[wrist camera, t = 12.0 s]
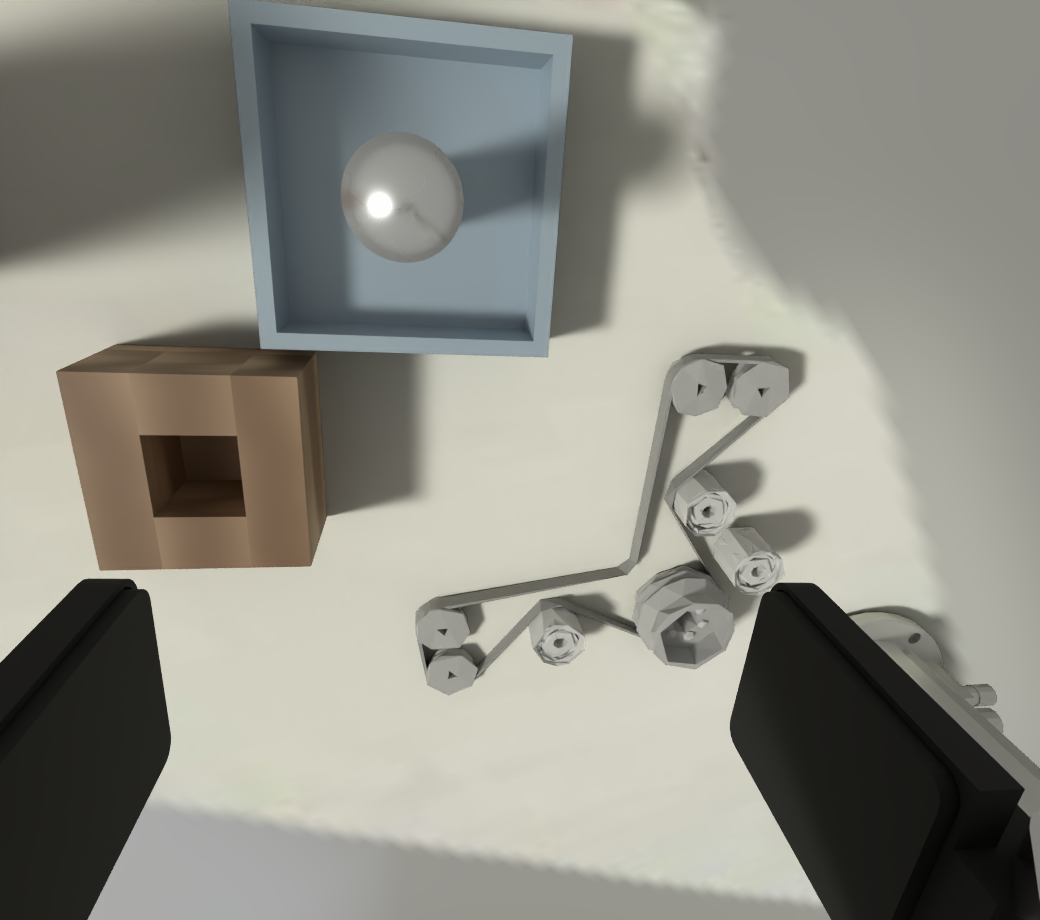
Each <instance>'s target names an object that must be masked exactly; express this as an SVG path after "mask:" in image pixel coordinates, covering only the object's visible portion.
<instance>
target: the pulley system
mask: <svg viewBox="0 0 1040 920" xmlns="http://www.w3.org/2000/svg"><path fill="white" fill-rule="evenodd" d="M716 362H723V363H739V364H738V366H737V367H736V368H735V369H734V371H733V372H732V374H731V377H730V379H729V382H728V385H727V384H726V377H725V371H724V365H721V364H718V363H716ZM724 393H725V394H726V395H727V397H728V399H729V401H730V402H731V404H732V406H733V407H734V408H738V409H740V411H741V413H742V415H748V416H749V417H748V418H747V419H746V420H745V421H743V422H742V423H741V424H740V425H738V426H737V427H736V428H735V429H734V430H732V431H731V432H730V433H729V434H727V435H726V436H725V437H724V438H723V439H721V440H720V441H719V442H718V443H717V444H715V445H714V446H713V447H712V448H710V449H709V450H708V451H707V452H706V453H704V454H703V455H702V456H701V457H699V458H698V459H697V460H696V461H695V462H693V463H692V464H691V465H690V466H689V467H687V468H686V469H685V470H684V471H682V472H681V473H680V474H679V475H678V476H676V477H675V478H674V479H673V480H672V481H671V483H670V486H669V488H668V490H667V493H666V495H665V498H664V499H665V501H666V503H667V504H668V506H669V508H670V510H671V511H672V513H673V515H674V517H675V518H676V520H677V522H678V524H679V525H680V527H681V529H682V530H683V532H684V534H685V536H686V537H687V539H688V541H689V543H690V544H691V546H692V548H693V550H694V551H695V553H696V555H697V556H698V558H699V560H700V561H701V563H702V565H703V567H704V568H705V570H706V572H707V573H708V575H707V574H705V573H703V572H700V571H697V570H695V569H692V568H690V567H687V566H685V565H684V566H681V567H677V568H674V569H671V570H668V571H664V572H661V573H658V574H656V575H655V576H654V577H653V578H652V579H651V580H649V581H648V582H647V583H646V584H645V585H644V586H642V587H641V588H640V589H639V590H638V591H637V592H636V599H635V609H634V613H633V616H632V619H633V621H634V623H635V625H636V627H637V629H634V628H632V627H630V626H627V625H625V624H622V623H620V622H617V621H615V620H613V619H610V618H608V617H605V616H603V615H601V614H598V613H596V612H593V611H591V610H589V609H586V608H584V607H581V606H579V605H577V604H574V603H572V602H569V601H567V600H565V599H562V598H560V597H558V598H550V599H542V600H539V601H538V603H537V604H536V605H535V606H534V607H533V608H532V609H531V610H530V611H529V612H528V613H527V614H526V615H525V616H524V617H523V618H522V619H521V620H520V621H519V622H518V623H517V624H516V626H515V627H514V628H513V629H512V630H511V631H510V632H509V633H508V634H507V635H506V636H505V637H504V638H503V639H502V640H501V641H500V642H499V643H498V644H497V645H496V646H495V647H494V648H493V650H492V651H491V652H490V653H489V654H488V655H487V656H486V657H485V658H484V659H483V660H482V661H481V662H480V663H479V664H478V665H477V666H475V665H474V662H473V658H472V657H471V656H470V655H469V654H468V652H467V651H466V650H465V649H458V648H460V647H461V645H462V644H463V642H464V641H465V639H466V638H467V636H468V635H469V633H470V630H469V628H468V625H467V620H468V619H467V616H466V615H465V614H464V612H463V611H462V606H468V605H473V604H478V603H483V602H488V601H494V600H499V599H504V598H509V597H514V596H519V595H525V594H530V593H535V592H540V591H545V590H551V589H556V588H561V587H566V586H571V585H577V584H582V583H587V582H592V581H597V580H602V579H608V578H613V577H618V576H623V575H627V574H628V573H629V572H630V571H631V570H632V569H633V567H634V566H635V565H636V564H637V561H638V556H639V552H640V547H641V542H642V538H643V533H644V528H645V523H646V519H647V514H648V509H649V505H650V500H651V495H652V490H653V486H654V481H655V476H656V471H657V467H658V462H659V457H660V453H661V448H662V443H663V438H664V434H665V429H666V424H667V420H668V415H669V410H670V405H671V404H672V405H673V406H674V407H675V408H676V410H677V412H678V413H682V414H688V415H693V416H698V415H700V414H703V413H706V412H708V411H711V410H714V409H716V408H718V406H719V404H720V402H721V400H722V398H723V396H724ZM788 398H789V369H788V368H786V367H785V366H783V365H781V364H779V363H777V362H775V361H774V360H773V358H772V357H771V356H747V355H719V354H703V353H700V354H691V355H687V356H685V357H683V358H681V359H679V360H677V361H675V362H673V363H672V365H671V367H670V369H669V371H668V373H667V375H666V378H665V381H664V386H663V392H662V397H661V402H660V407H659V412H658V417H657V422H656V427H655V432H654V437H653V442H652V447H651V452H650V457H649V462H648V467H647V472H646V478H645V483H644V488H643V493H642V498H641V503H640V508H639V513H638V518H637V523H636V528H635V533H634V538H633V543H632V548H631V553H630V559H628V560H627V561H625V562H624V563H622V564H621V565H619V566H618V567H614V568H608V569H603V570H597V571H591V572H585V573H580V574H574V575H568V576H563V577H557V578H551V579H545V580H540V581H534V582H528V583H522V584H517V585H511V586H505V587H500V588H494V589H488V590H482V591H477V592H471V593H465V594H460V595H454V596H448V597H436V598H434V599H432V600H431V601H429V602H427V603H426V604H425V605H423V606H422V607H420V608H419V610H417V611H416V636H417V641H418V645H419V649H420V654H421V658H422V662H423V667H424V671H425V675H426V680H427V685H428V686H430V687H432V688H434V689H436V690H438V691H440V692H443V693H445V694H447V695H451V694H453V693H455V692H458V691H460V690H462V689H465V688H467V687H470V686H472V685H473V682H474V680H475V679H476V678H477V677H478V676H479V675H480V674H481V673H482V672H483V671H484V670H485V669H486V668H487V667H488V666H489V665H490V663H491V662H492V661H493V660H494V659H495V658H496V657H497V656H498V655H499V654H500V653H501V652H502V651H503V650H504V649H505V648H506V647H507V646H508V645H509V644H510V643H511V642H512V641H513V640H514V639H515V638H516V637H517V636H518V634H519V633H520V632H521V631H522V630H523V629H524V628H525V627H526V626H527V625H528V626H529V631H530V636H531V641H532V647H533V649H534V650H535V652H536V653H537V654H538V656H539V657H540V659H541V660H542V661H543V662H544V663H548V664H551V665H555V666H560V665H565V664H569V663H570V662H571V661H572V660H573V659H575V658H576V657H577V656H578V655H579V654H580V653H582V652H583V651H584V650H585V636H584V634H583V631H582V628H581V626H580V623H579V620H578V618H577V615H576V613H578V614H580V615H583V616H585V617H588V618H591V619H593V620H596V621H599V622H601V623H604V624H607V625H609V626H612V627H615V628H617V629H620V630H623V631H625V632H628V633H630V634H633V635H636V636H638V637H641V638H642V640H643V642H644V643H645V645H646V647H647V648H648V649H649V650H653V651H654V654H655V655H656V656H657V657H658V658H659V659H660V660H661V661H662V662H663V663H664V664H665V665H671V666H677V667H683V668H690V669H696V668H698V667H700V666H701V665H703V664H704V663H706V662H708V661H709V660H711V659H712V658H714V657H716V656H717V655H719V654H720V653H722V652H723V651H725V650H726V648H727V646H728V643H729V641H730V639H731V637H732V635H733V632H734V619H733V613H731V612H729V611H728V610H727V608H728V600H729V596H728V595H727V594H726V593H724V592H723V591H721V589H720V588H719V587H718V585H717V584H716V583H715V582H714V580H713V579H712V577H711V575H710V573H709V572H708V570H707V568H706V567H705V565H704V563H703V561H702V560H701V558H700V556H699V554H698V552H697V551H696V549H695V547H694V545H693V544H692V542H691V540H690V538H689V537H688V535H687V533H686V531H685V530H684V528H683V526H682V524H681V523H680V521H679V519H678V517H677V516H676V514H675V512H676V513H677V515H678V516H679V518H680V519H681V521H682V522H683V523H684V525H685V526H686V527H687V528H688V529H689V530H690V531H691V532H692V533H693V534H694V535H695V536H696V537H698V536H715V535H717V534H718V533H719V532H721V531H722V530H723V529H725V528H726V527H727V526H729V525H730V524H731V523H733V518H734V514H735V509H736V505H737V504H736V502H735V501H734V499H733V497H732V496H731V495H730V494H729V493H728V492H727V491H726V490H725V489H723V488H722V487H721V486H720V485H719V483H718V482H717V480H716V479H715V478H714V477H713V476H712V475H711V474H710V473H709V472H707V471H706V470H704V469H703V468H704V467H705V466H706V465H707V464H709V463H710V462H711V461H712V460H713V459H715V458H716V457H717V456H718V455H719V454H720V453H722V452H723V451H724V450H725V449H726V448H728V447H729V446H730V445H731V444H732V443H734V442H735V441H736V440H737V439H738V438H739V437H741V436H742V435H743V434H744V433H745V432H747V431H748V430H749V429H750V428H751V427H753V426H754V425H755V424H756V423H757V422H758V421H760V420H761V419H762V418H763V417H767V416H768V415H769V414H770V413H772V412H773V411H774V410H775V409H776V408H777V407H779V406H780V405H781V404H782V403H783V402H784V401H786V400H787V399H788ZM672 508H673V509H674V510H673V509H672ZM674 511H675V512H674ZM714 558H715V560H716V561H717V562H718V564H719V565H720V567H721V568H722V569H723V571H724V572H725V574H726V575H727V576H728V578H729V579H730V581H731V582H732V583H733V585H734V586H735V587H736V588H737V589H738V590H740V591H741V592H742V593H744V594H745V595H754V596H759V595H761V594H762V593H764V592H766V591H767V590H769V589H770V588H772V587H773V586H774V585H775V584H777V583H778V582H779V581H780V580H781V579H782V578H783V576H784V575H785V572H784V566H783V561H782V559H781V557H780V556H779V555H778V554H777V553H776V552H775V551H774V550H773V549H772V548H771V547H770V546H769V545H768V544H767V543H766V541H765V540H764V539H763V538H762V537H761V536H760V535H759V534H758V533H757V531H756V530H755V529H754V528H753V527H745V528H727V529H726V530H725V531H724V533H723V534H722V535H721V536H720V538H719V539H718V540H717V541H716V543H715V544H714ZM422 644H424V645H425V646H427V647H429V648H430V649H440V650H438V651H436V652H434V654H433V656H432V657H431V659H430V661H429V664H428V667H427V665H426V660H425V655H424V650H423V645H422Z"/></svg>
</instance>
